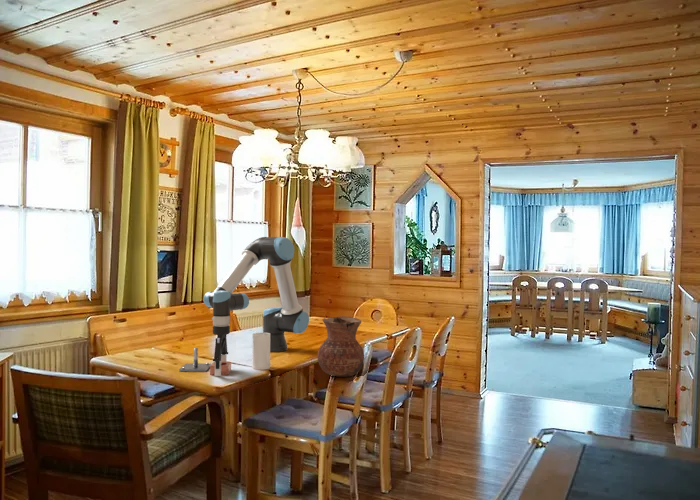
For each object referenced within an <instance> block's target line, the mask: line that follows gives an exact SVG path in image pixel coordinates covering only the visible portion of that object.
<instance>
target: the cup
mask: <svg viewBox="0 0 700 500" xmlns="http://www.w3.org/2000/svg"><path fill="white" fill-rule="evenodd" d="M251 364H252V365H251V368H252V369H253V370H257V371H260V370H269V369H270V368H271V352H270V333H263V332H255V333H252V363H251Z"/></svg>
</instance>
